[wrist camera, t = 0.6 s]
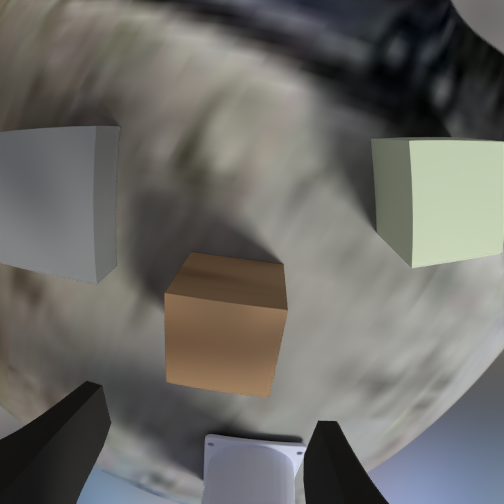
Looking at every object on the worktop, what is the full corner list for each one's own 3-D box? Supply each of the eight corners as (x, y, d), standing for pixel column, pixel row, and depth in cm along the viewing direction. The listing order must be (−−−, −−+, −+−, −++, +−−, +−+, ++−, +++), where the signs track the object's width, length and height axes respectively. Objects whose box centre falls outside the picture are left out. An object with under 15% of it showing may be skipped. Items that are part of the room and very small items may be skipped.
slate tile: (119, 263, 18) (96, 284, 16) (24, 246, 18) (-3, 262, 16) (123, 126, 16) (96, 126, 13) (20, 130, 16) (-11, 133, 13)
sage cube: (452, 223, 16) (501, 253, 11) (376, 232, 17) (411, 267, 12) (450, 137, 14) (505, 142, 10) (369, 138, 15) (409, 140, 10)
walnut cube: (270, 339, 19) (269, 397, 14) (188, 328, 19) (166, 382, 15) (283, 263, 18) (287, 310, 13) (191, 251, 18) (164, 292, 13)
